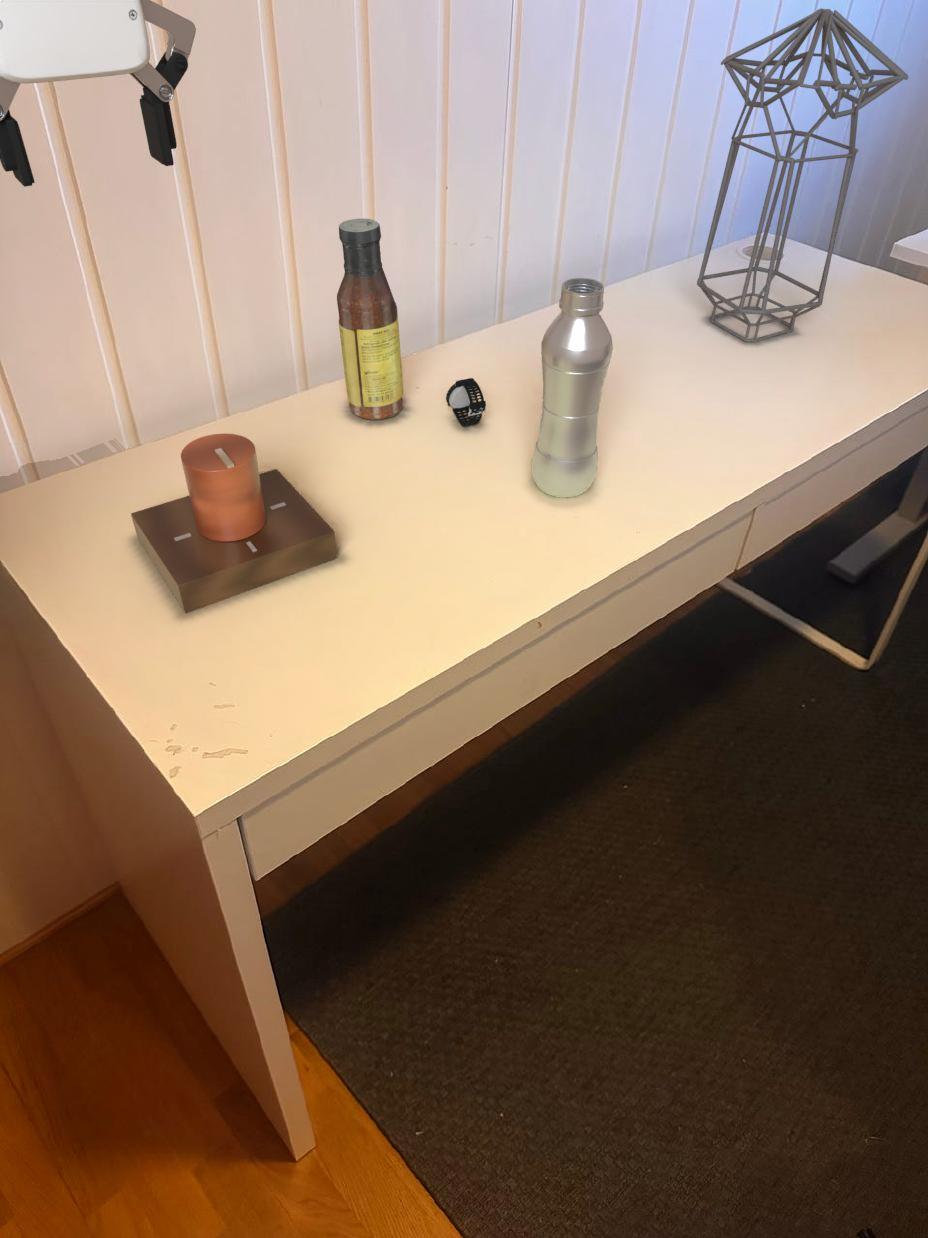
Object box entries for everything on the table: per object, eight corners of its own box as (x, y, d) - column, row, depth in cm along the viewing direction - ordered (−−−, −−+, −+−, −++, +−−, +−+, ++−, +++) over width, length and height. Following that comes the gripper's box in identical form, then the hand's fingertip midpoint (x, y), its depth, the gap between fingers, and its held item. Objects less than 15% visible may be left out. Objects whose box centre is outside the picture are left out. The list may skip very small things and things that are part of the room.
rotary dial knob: (186, 514, 79) (169, 441, 74) (250, 495, 81) (238, 423, 76) (210, 549, 75) (194, 475, 70) (277, 528, 78) (266, 454, 73)
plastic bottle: (520, 497, 87) (533, 293, 74) (542, 463, 92) (558, 266, 79) (583, 512, 85) (609, 306, 72) (602, 476, 90) (630, 278, 77)
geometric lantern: (669, 313, 121) (721, 2, 98) (761, 295, 127) (832, -4, 103) (742, 360, 111) (820, 23, 88) (840, 338, 116) (938, 16, 93)
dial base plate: (185, 613, 74) (177, 584, 71) (138, 540, 81) (130, 511, 79) (337, 558, 79) (334, 529, 77) (280, 494, 87) (276, 466, 85)
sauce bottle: (413, 403, 101) (408, 219, 88) (387, 427, 97) (378, 238, 84) (362, 391, 103) (350, 210, 90) (335, 415, 99) (318, 228, 86)
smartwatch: (482, 412, 100) (483, 371, 96) (485, 436, 96) (487, 393, 93) (445, 413, 100) (445, 371, 96) (447, 436, 96) (447, 394, 92)
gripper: (145, -149, 58) (194, 143, 69) (-157, -152, 50) (-47, 175, 62) (186, -147, 53) (232, 166, 64) (-139, -149, 46) (-24, 204, 57)
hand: (95, 170), depth 63 cm, fingers open, 9 cm apart
